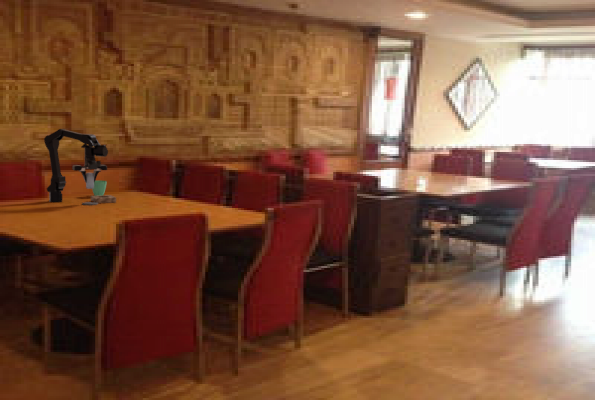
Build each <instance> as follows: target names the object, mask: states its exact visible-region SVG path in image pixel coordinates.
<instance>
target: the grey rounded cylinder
mask: <svg viewBox="0 0 595 400" xmlns="http://www.w3.org/2000/svg"><path fill="white" fill-rule="evenodd" d="M86 179H87V182H85V185H86V186H85V189H90V190H92V189H93V188H94V172H86Z"/></svg>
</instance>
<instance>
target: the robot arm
mask: <svg viewBox="0 0 595 400" xmlns="http://www.w3.org/2000/svg"><path fill="white" fill-rule="evenodd" d="M64 137H66V138H69V139H74V140H76V141H77V140H78V141H79V142H80V143H82V144H83V145H81V148H83V149H84V165H80V164H79V165H78V164H73V165H72V170H73V171H78V172H79V173H81V175H82V177H83V180H84V182H85V183H86V182H87V179H86V173H87V171H86V170H93V173H94V182H95V181H97V180H96V179H97V178H98V175H99V174H100V173H101V172H102V171H108V166H107V165H106V164H101V163H102V162H101V160H96V157H101V158H102V157H105V158H106V157H107V156H108V154H109V150H108V147H107V144H101V143H99V140H98V139H97V137H96V135H95V134H92V133H80V132H76V131H72V130H68V129H65V128H58V129H57V130H56V131H54V132H53V133H50V134H49V135H45V137H44V138H43V141H44V145H45V147H46V149H47V150H48V154H49V161H50V162H49V163H50V168H51V178H50V184H49V185H48V187H46V192H48V193H49V194H48V195H49V196H48V198H49V200H48V202H50V203H62V202H63V193H62V192H63V191H64V189H65V187H66V184H67V181H66V176H64V175H62V173H61V172H62V171H61V170H62V169H61V166H60V164H61V163H60V157H59V151H58V150H59V147H60V141H62V140H63V138H64ZM95 156H96V157H95Z"/></svg>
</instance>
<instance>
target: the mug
mask: <svg viewBox="0 0 595 400" xmlns="http://www.w3.org/2000/svg"><path fill="white" fill-rule="evenodd" d="M107 183H108V182H107V180H95V182H94V188H93V189H91V190H92V193H93V196H102V195H105V191H106V188H107Z"/></svg>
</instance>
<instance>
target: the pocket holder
mask: <svg viewBox="0 0 595 400" xmlns="http://www.w3.org/2000/svg"><path fill="white" fill-rule="evenodd" d="M92 201H93V202H97V203H98V204H110V203H113V204H114V203H115V204H116V203H117V197H116V196H114V195H111V194H109V195H108V194H106V195H105V194H104V195H102V196H94V195H90V202H92Z"/></svg>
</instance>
